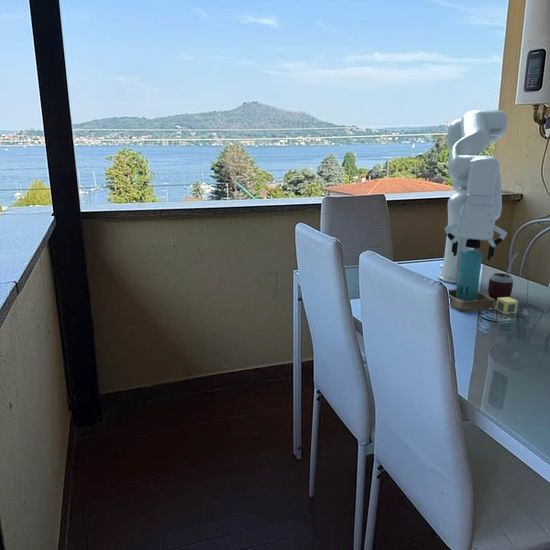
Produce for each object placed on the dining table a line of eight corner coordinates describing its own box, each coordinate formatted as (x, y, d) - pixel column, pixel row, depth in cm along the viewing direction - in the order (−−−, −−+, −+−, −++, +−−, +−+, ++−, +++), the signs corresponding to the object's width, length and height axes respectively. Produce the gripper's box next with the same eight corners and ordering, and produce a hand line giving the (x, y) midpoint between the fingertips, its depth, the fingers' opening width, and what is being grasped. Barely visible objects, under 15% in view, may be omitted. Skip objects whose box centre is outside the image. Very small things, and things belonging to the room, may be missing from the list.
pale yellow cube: (495, 310, 140) (497, 297, 139) (506, 309, 141) (508, 296, 140) (504, 315, 137) (506, 302, 135) (516, 313, 137) (518, 301, 136)
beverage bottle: (475, 299, 147) (484, 238, 141) (477, 306, 141) (486, 242, 135) (454, 297, 149) (461, 236, 143) (454, 304, 143) (462, 241, 137)
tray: (438, 299, 149) (439, 290, 148) (469, 296, 152) (471, 287, 151) (460, 312, 138) (461, 302, 137) (493, 308, 141) (495, 299, 140)
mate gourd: (486, 300, 148) (492, 255, 144) (487, 293, 155) (493, 250, 151) (512, 304, 145) (519, 258, 141) (511, 296, 152) (518, 252, 148)
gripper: (446, 200, 136) (440, 256, 141) (511, 204, 129) (502, 263, 134) (450, 197, 143) (443, 251, 148) (512, 201, 135) (503, 257, 140)
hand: (471, 256), depth 141 cm, fingers open, 9 cm apart
